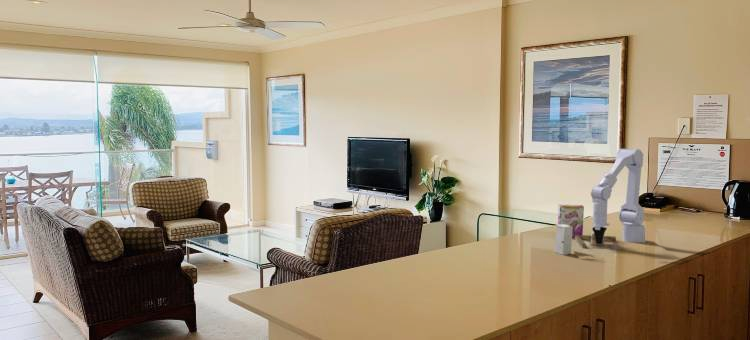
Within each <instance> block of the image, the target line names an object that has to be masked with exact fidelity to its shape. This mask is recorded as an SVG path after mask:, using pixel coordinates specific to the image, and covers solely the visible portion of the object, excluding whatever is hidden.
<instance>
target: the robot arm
mask: <svg viewBox="0 0 750 340" xmlns="http://www.w3.org/2000/svg"><path fill="white" fill-rule="evenodd" d="M643 163H644V153H643V151H642V150H641V149H639V148H638V149H633V148H631V149H630V148H629V149H628V148H619V149H618V150H617V151H616V154H615V162H614V163H613V165H612V167H611V169H610V171H609V172H606V173H604V175H603V177H602V178H601V179H600V181H599V183H598V184H597V185H595V186H594V187H593V188H592V189H591V191H590V195H591V199H592V200H591V201H592V203H593V206H592V207H593V209H592V210H593V211H592V212H593V214H592V225H593V227H592V232H594V234H595V239H596V244H602V241H603V236H605V233H606V231H607V229H608V228H607V227H606V226H608V227H609V226H610V225H611V224H610V223H608V222H607V221H608V200H609V199H610V198H611V194H612V191H613V190H612V189H613V188H614V187H615V185H616V183H617V182H618V179H617V177H618V175H619V174H620V173H621V172H622V170H623V169H625V167H626V168H627V169H628V172H627V174H628V176H627V185H626V186H627V187H626V198H625V199H626V200H625V203H624V204H623V205H621V206H620V210H619V213H618V218H619V221H620V223H621V225H622V234H621V235H622V236H621V238H622V239H621V240H622V241H623V242H627V243H646V226H645V225H644V224H643V223H644V221H645V213H644V207H642V206H641V205H640V203H639V199H640V187H641V176H642V168H643V165H644V164H643Z"/></svg>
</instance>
